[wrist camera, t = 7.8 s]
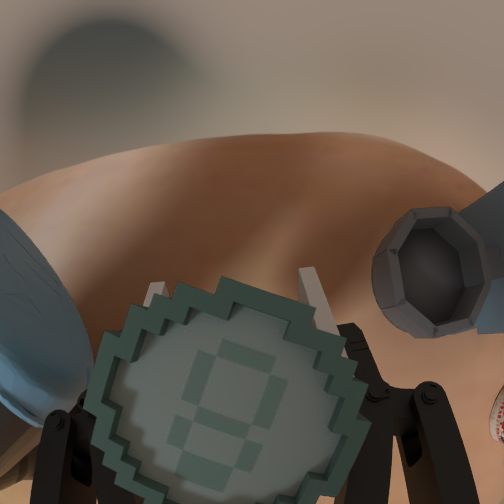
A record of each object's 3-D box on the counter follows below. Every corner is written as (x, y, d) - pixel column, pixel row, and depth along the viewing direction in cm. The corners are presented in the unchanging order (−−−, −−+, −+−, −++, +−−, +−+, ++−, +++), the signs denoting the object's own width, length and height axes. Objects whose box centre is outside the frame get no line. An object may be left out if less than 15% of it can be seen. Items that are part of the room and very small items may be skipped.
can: (189, 382, 20) (70, 470, 5) (217, 301, 21) (135, 244, 6) (273, 411, 19) (301, 552, 5) (302, 329, 21) (402, 334, 6)
